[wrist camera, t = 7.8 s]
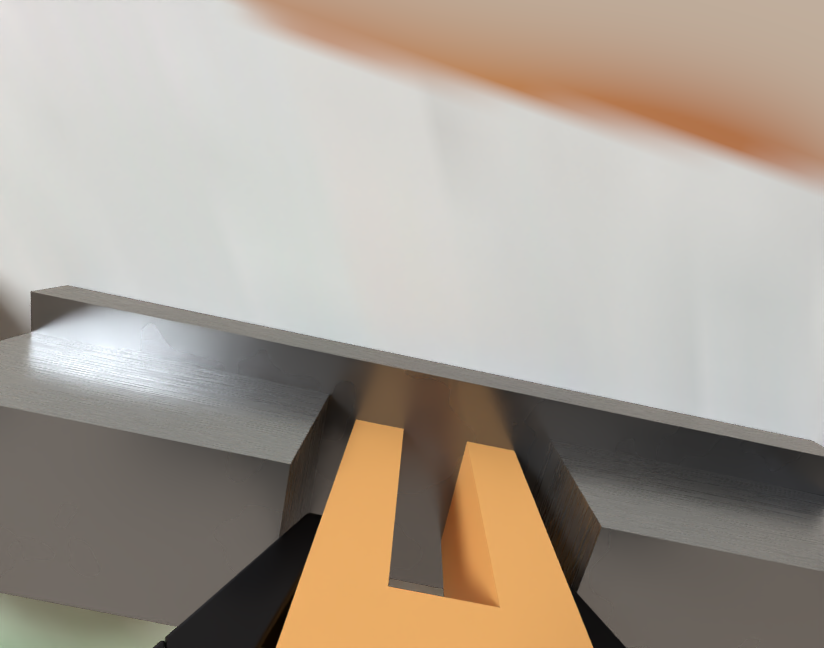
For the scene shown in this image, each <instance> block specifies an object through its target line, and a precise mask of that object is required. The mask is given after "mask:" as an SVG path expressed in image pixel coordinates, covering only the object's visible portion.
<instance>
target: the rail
mask: <svg viewBox="0 0 824 648" xmlns="http://www.w3.org/2000/svg"><path fill="white" fill-rule="evenodd" d="M356 420H361V421H366V422H371V423H376V424H381V425H387V426H392V427H397V428H402V429H404V431H403V441H402V451H401V461H400V471H399V481H398V491H397V501H396V511H395V521H394V532H393V542H392V552H391V562H390V572H389V578H391V579H396V580H401V581H406V582H412V583H417V584H422V585H427V586H432V587H437V588H442V589H444V588H443V570H442V551H441V539H442V536H443V532H444V528H445V524H446V520H447V516H448V513H449V509H450V505H451V501H452V497H453V493H454V490H455V486H456V482H457V478H458V474H459V470H460V467H461V463H462V459H463V455H464V451H465V447H466V444H467V442H472V443H477V444H482V445H488V446H493V447H498V448H503V449H508V450H513V451H515V454H516V456H517V459H518V461H519V464H520V466H521V469H522V471H523V474H524V476H525V479H526V481H527V484H528V486H529V489H530V491H531V494H532V496H533V499H534V501H535V504H536V506H537V509H538V511H539V514H540V516H541V519H542V521H543V524H544V526H545V529H546V531H547V534H548V536H549V539H550V541H551V544H552V546H553V549H554V551H555V554H556V556H557V559H558V561H559V564H560V566H561V569H562V571H563V573H564V576H565V578H566V581H567V582H568V583H569V584H570V586H571V587H572V588H573V589H574V590H575V591H576V592H577V593H578V594H579V596H580V597H581V598H582V599H583V600H584V601H585V602H586V603H587V604H588V606H589V607H590V608H591V609H592V610H593V611H594V612H595V613H596V614H597V616H598V617H599V618H600V619H601V620H602V621H603V622H604V623H605V624H606V626H607V627H608V628H609V629H610V630H611V631H612V632H613V633H614V634H615V636H616V637H617V638H618V639H619V640H620V641H621V642H622V643H623V644H624V646H625V647H626V648H824V447H823V446H821V445H819V444H817V443H815V442H814V441H811V440H806V439H801V438H796V437H792V436H787V435H782V434H777V433H772V432H768V431H763V430H758V429H753V428H748V427H744V426H739V425H734V424H729V423H724V422H720V421H715V420H710V419H705V418H701V417H696V416H691V415H686V414H681V413H677V412H672V411H667V410H662V409H657V408H653V407H648V406H643V405H638V404H633V403H629V402H624V401H619V400H614V399H609V398H605V397H600V396H595V395H590V394H586V393H581V392H576V391H571V390H566V389H562V388H557V387H552V386H547V385H542V384H538V383H533V382H528V381H523V380H518V379H514V378H509V377H504V376H499V375H494V374H490V373H485V372H480V371H475V370H471V369H466V368H461V367H456V366H451V365H447V364H442V363H437V362H432V361H427V360H423V359H418V358H413V357H408V356H403V355H399V354H394V353H389V352H384V351H380V350H375V349H370V348H365V347H360V346H356V345H351V344H346V343H341V342H336V341H332V340H327V339H322V338H317V337H312V336H308V335H303V334H298V333H293V332H288V331H284V330H279V329H274V328H269V327H265V326H260V325H255V324H250V323H245V322H241V321H236V320H231V319H226V318H221V317H217V316H212V315H207V314H202V313H197V312H193V311H188V310H183V309H178V308H173V307H169V306H164V305H159V304H154V303H150V302H145V301H140V300H135V299H130V298H126V297H121V296H116V295H111V294H106V293H102V292H97V291H92V290H87V289H82V288H78V287H73V286H68V285H66V286H60V287H55V288H49V289H43V290H37V291H31V332H30V333H26V334H22V335H19V336H15V337H11V338H8V339H4V340H0V593H5V594H10V595H16V596H21V597H26V598H31V599H36V600H42V601H47V602H52V603H57V604H63V605H68V606H73V607H78V608H83V609H89V610H94V611H99V612H104V613H109V614H115V615H120V616H125V617H130V618H136V619H141V620H146V621H151V622H156V623H162V624H167V625H172V626H177V627H178V626H179V625H180V624H181V623H182V622H183V621H185V620H186V619H187V618H188V617H189V616H190V615H191V614H193V613H194V612H195V611H196V610H197V609H198V608H199V607H201V606H202V605H203V604H204V603H205V602H206V601H207V600H209V599H210V598H211V597H212V596H213V595H214V594H215V593H217V592H218V591H219V590H220V589H221V588H222V587H223V586H225V585H226V584H227V583H228V582H229V581H230V580H231V579H233V578H234V577H235V576H236V575H237V574H238V573H239V572H241V571H242V570H243V569H244V568H245V567H246V566H247V565H249V564H250V563H251V562H252V561H253V560H254V559H255V558H257V557H258V556H259V555H260V554H261V553H262V552H263V551H265V550H266V549H267V548H268V547H269V546H270V545H271V544H273V543H274V542H275V541H276V540H277V539H278V538H279V537H281V536H282V535H283V534H284V533H285V532H286V531H287V530H289V529H290V528H291V527H292V526H293V525H294V524H295V523H297V522H298V521H299V520H300V519H301V518H302V517H303V516H305V515H306V514H307V513H315V514H320V515H323V512H324V509H325V506H326V503H327V501H328V498H329V495H330V492H331V489H332V486H333V483H334V481H335V478H336V475H337V472H338V469H339V466H340V463H341V461H342V458H343V455H344V452H345V449H346V446H347V443H348V441H349V438H350V435H351V432H352V429H353V426H354V423H355V421H356Z"/></svg>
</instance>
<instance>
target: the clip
mask: <svg viewBox="0 0 824 648" xmlns="http://www.w3.org/2000/svg"><path fill="white" fill-rule="evenodd" d="M403 431H404V429H402V428H397V427H392V426H387V425H381V424H376V423H371V422H366V421H361V420H356V421H355V423H354V426H353V429H352V432H351V435H350V438H349V441H348V443H347V446H346V449H345V452H344V455H343V458H342V461H341V463H340V466H339V469H338V472H337V475H336V478H335V481H334V483H333V486H332V489H331V492H330V495H329V498H328V501H327V503H326V506H325V509H324V512H323V515H322V518H321V521H320V523H319V526H318V529H317V532H316V535H315V538H314V541H313V543H312V546H311V549H310V552H309V555H308V558H307V560H306V563H305V566H304V569H303V572H302V575H301V578H300V580H299V583H298V586H297V589H296V592H295V595H294V598H293V600H292V603H291V606H290V609H289V612H288V615H287V618H286V620H285V623H284V626H283V629H282V632H281V635H280V638H279V640H278V643H277V646H276V648H593V646H592V643H591V641H590V638H589V636H588V633H587V631H586V628H585V626H584V623H583V621H582V618H581V616H580V613H579V611H578V608H577V606H576V603H575V601H574V598H573V596H572V593H571V591H570V588H569V586H568V583H567V581H566V578H565V576H564V573H563V571H562V569H561V566H560V564H559V561H558V559H557V556H556V554H555V551H554V549H553V546H552V544H551V541H550V539H549V536H548V534H547V531H546V529H545V526H544V524H543V521H542V519H541V516H540V514H539V511H538V509H537V506H536V504H535V501H534V499H533V496H532V494H531V491H530V489H529V486H528V484H527V481H526V479H525V476H524V474H523V471H522V469H521V466H520V464H519V461H518V459H517V456H516V454H515V451H513V450H508V449H503V448H498V447H493V446H488V445H482V444H477V443H472V442H467V444H466V447H465V451H464V455H463V459H462V463H461V467H460V470H459V474H458V478H457V482H456V486H455V490H454V493H453V497H452V501H451V505H450V509H449V513H448V516H447V520H446V524H445V528H444V532H443V536H442V539H441V551H442V570H443V588H444V597H441V596H436V595H431V594H425V593H420V592H415V591H410V590H404V589H399V588H394V587H389V586H388V582H389V572H390V562H391V552H392V542H393V532H394V521H395V511H396V501H397V491H398V481H399V471H400V461H401V451H402V441H403Z"/></svg>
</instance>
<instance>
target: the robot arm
mask: <svg viewBox="0 0 824 648" xmlns="http://www.w3.org/2000/svg"><path fill="white" fill-rule="evenodd" d="M321 518H322V515H320V514H315V513H307V514H306V515H305V516H303V517H302V518H301V519H300V520H299V521H298V522H297V523H295V524H294V525H293V526H292V527H291V528H290V529H289V530H287V531H286V532H285V533H284V534H283V535H282V536H281V537H279V538H278V539H277V540H276V541H275V542H274V543H273V544H271V545H270V546H269V547H268V548H267V549H266V550H265V551H263V552H262V553H261V554H260V555H259V556H258V557H257V558H255V559H254V560H253V561H252V562H251V563H250V564H249V565H247V566H246V567H245V568H244V569H243V570H242V571H241V572H239V573H238V574H237V575H236V576H235V577H234V578H233V579H231V580H230V581H229V582H228V583H227V584H226V585H225V586H223V587H222V588H221V589H220V590H219V591H218V592H217V593H215V594H214V595H213V596H212V597H211V598H210V599H209V600H207V601H206V602H205V603H204V604H203V605H202V606H201V607H199V608H198V609H197V610H196V611H195V612H194V613H193V614H191V615H190V616H189V617H188V618H187V619H186V620H185V621H183V622H182V623H181V624H180V625H179V626H178V627H177V628H175V629H174V630H173V631H172V632H171V633H170V634H169V635H167V636H166V638H165V642H164V641H160V642H159V643H158V644H157V645H156V646H154V647H153V648H276V646H277V643H278V640H279V638H280V635H281V632H282V629H283V626H284V623H285V620H286V618H287V615H288V612H289V609H290V606H291V603H292V600H293V598H294V595H295V592H296V589H297V586H298V583H299V580H300V578H301V575H302V572H303V569H304V566H305V563H306V560H307V558H308V555H309V552H310V549H311V546H312V543H313V541H314V538H315V535H316V532H317V529H318V526H319V523H320V521H321ZM567 583H568V582H567ZM568 586H569V588H570V591H571V593H572V596H573V598H574V601H575V603H576V606H577V608H578V611H579V613H580V616H581V618H582V621H583V623H584V626H585V628H586V631H587V633H588V636H589V638H590V641H591V643H592V646H593V648H626V647H625V646H624V644H623V643H622V642H621V641H620V640H619V639H618V638H617V637H616V636H615V634H614V633H613V632H612V631H611V630H610V629H609V628H608V627H607V626H606V624H605V623H604V622H603V621H602V620H601V619H600V618H599V617H598V616H597V614H596V613H595V612H594V611H593V610H592V609H591V608H590V607H589V606H588V604H587V603H586V602H585V601H584V600H583V599H582V598H581V597H580V596H579V594H578V593H577V592H576V591H575V590H574V589H573V588H572V587H571V586H570V584H569V583H568Z"/></svg>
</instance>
